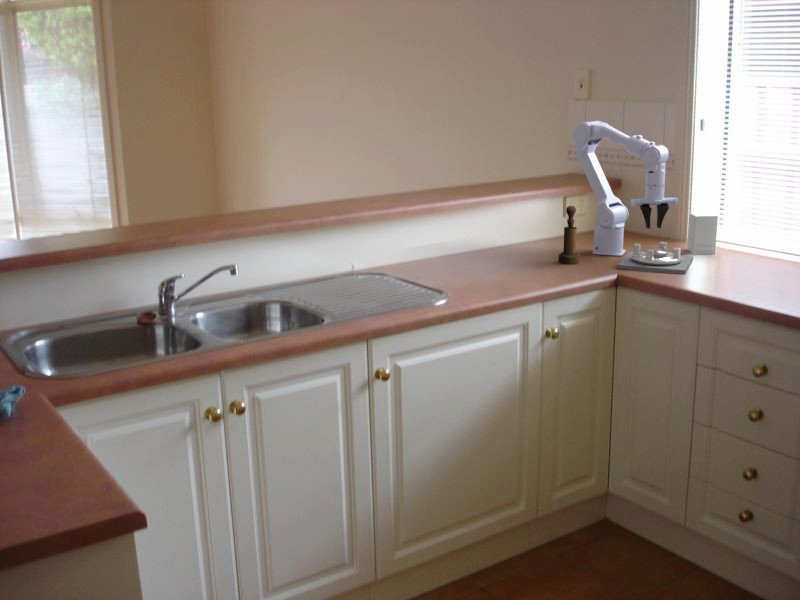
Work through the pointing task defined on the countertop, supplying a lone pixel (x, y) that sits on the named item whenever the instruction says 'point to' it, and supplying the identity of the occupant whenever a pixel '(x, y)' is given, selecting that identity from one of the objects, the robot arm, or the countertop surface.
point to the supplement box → (702, 233)
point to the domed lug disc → (656, 255)
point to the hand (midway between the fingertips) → (653, 227)
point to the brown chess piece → (570, 240)
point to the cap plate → (675, 268)
